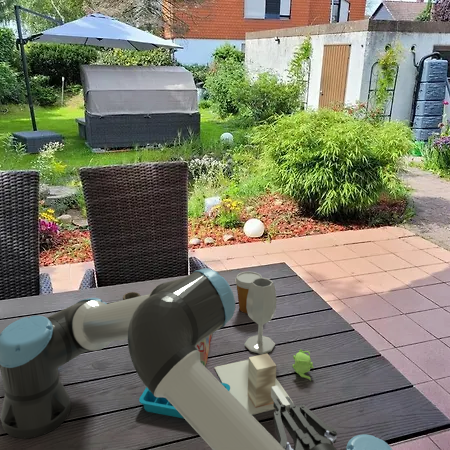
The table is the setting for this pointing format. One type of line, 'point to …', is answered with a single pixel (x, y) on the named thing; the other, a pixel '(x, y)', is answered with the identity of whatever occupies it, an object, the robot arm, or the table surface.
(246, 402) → the rubber mat
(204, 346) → the stack of blocks
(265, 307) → the wineglass
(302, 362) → the green monster figurine
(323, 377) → the table surface
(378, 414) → the table surface
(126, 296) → the mate gourd
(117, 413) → the table surface
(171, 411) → the ice cube tray
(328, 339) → the table surface
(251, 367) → the birch block
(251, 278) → the disposable coffee cup
